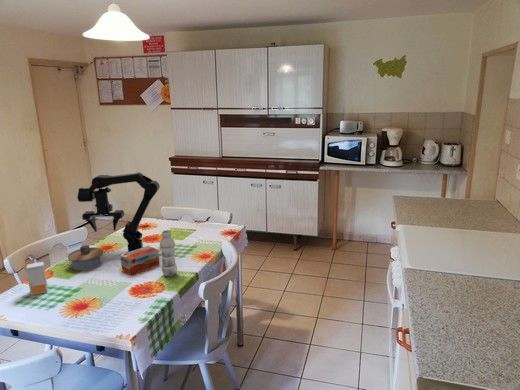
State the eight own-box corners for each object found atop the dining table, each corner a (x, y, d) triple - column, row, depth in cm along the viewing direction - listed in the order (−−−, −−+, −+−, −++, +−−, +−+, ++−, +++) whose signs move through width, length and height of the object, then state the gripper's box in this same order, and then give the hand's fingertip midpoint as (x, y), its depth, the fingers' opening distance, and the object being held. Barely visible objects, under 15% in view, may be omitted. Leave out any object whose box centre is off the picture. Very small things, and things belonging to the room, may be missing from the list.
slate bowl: (103, 259, 187) (102, 249, 186) (95, 269, 175) (94, 259, 174) (78, 260, 186) (77, 250, 185) (68, 271, 174) (67, 260, 173)
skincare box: (30, 295, 152) (25, 268, 150) (31, 291, 156) (26, 264, 153) (47, 292, 155) (43, 265, 152) (48, 287, 159) (43, 261, 156)
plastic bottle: (180, 272, 171) (177, 230, 166) (172, 278, 165) (168, 235, 160) (167, 270, 173) (164, 228, 168) (159, 277, 167) (155, 233, 162)
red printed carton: (150, 260, 185) (148, 244, 183) (160, 264, 180) (158, 248, 178) (121, 271, 174) (119, 254, 172) (131, 276, 169) (129, 259, 167)
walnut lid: (107, 248, 187) (106, 240, 186) (96, 260, 173) (95, 252, 172) (75, 249, 186) (74, 241, 185) (62, 262, 172) (61, 253, 170)
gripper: (125, 196, 195) (128, 225, 199) (88, 197, 194) (91, 226, 198) (119, 202, 184) (122, 232, 188) (79, 203, 183) (84, 234, 187)
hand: (105, 231), depth 191 cm, fingers open, 9 cm apart
